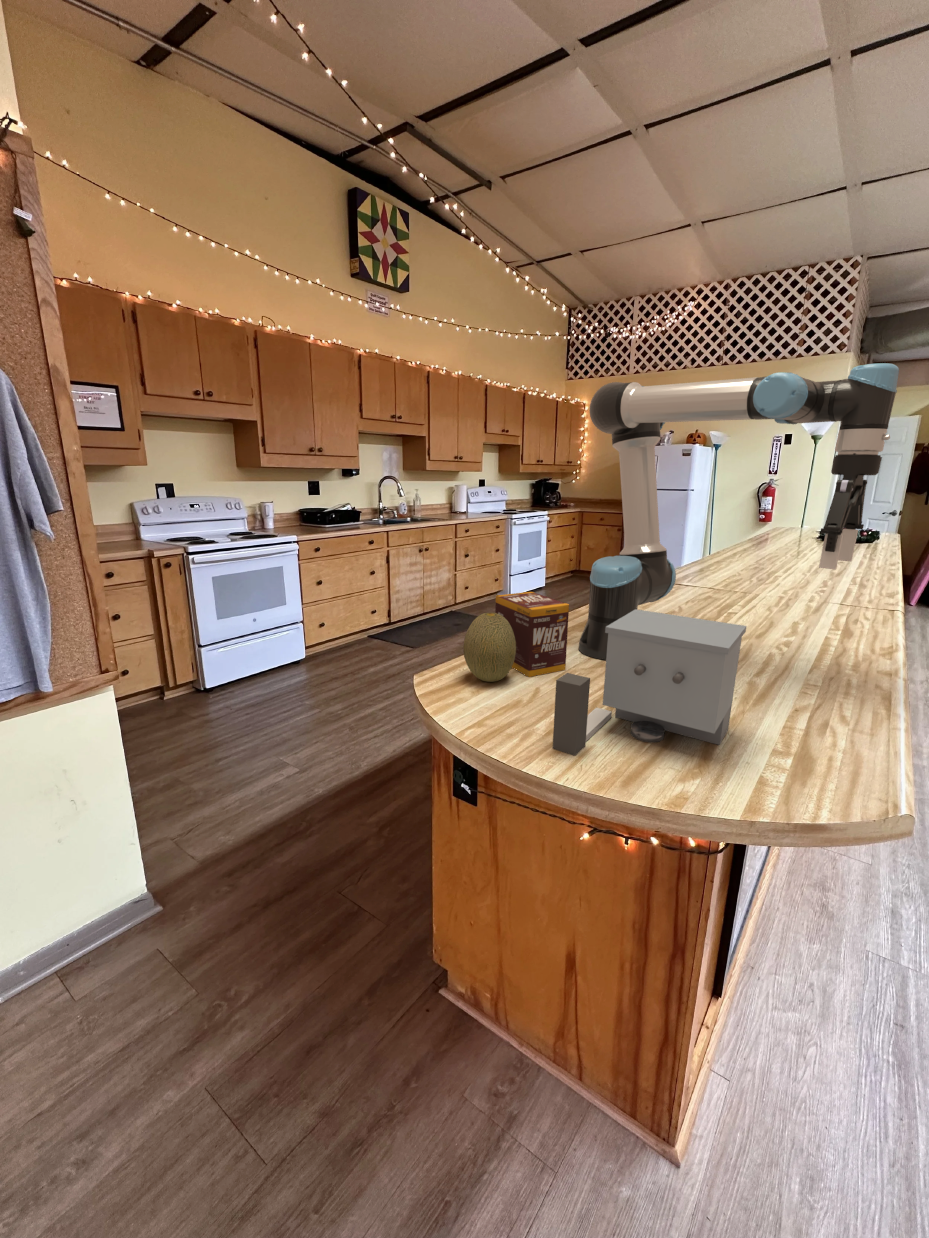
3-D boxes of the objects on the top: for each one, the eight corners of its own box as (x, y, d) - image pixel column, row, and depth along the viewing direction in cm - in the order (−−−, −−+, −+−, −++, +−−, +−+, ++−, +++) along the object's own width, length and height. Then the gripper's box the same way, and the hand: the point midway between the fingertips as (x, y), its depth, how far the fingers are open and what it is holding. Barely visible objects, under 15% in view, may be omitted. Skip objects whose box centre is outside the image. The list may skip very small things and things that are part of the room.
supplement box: (528, 678, 119) (531, 609, 115) (493, 657, 132) (494, 594, 128) (566, 670, 124) (570, 604, 120) (528, 651, 137) (531, 590, 133)
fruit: (452, 679, 118) (452, 612, 114) (486, 666, 126) (487, 603, 122) (492, 693, 111) (494, 623, 107) (526, 679, 119) (528, 612, 115)
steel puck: (625, 737, 93) (626, 729, 93) (636, 726, 98) (637, 718, 97) (658, 747, 90) (659, 738, 90) (667, 734, 95) (668, 726, 94)
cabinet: (594, 733, 94) (602, 628, 89) (626, 703, 107) (635, 609, 102) (710, 767, 83) (727, 650, 78) (731, 729, 96) (746, 625, 91)
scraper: (552, 748, 89) (556, 680, 86) (593, 712, 102) (598, 652, 99) (575, 755, 87) (579, 685, 84) (614, 718, 100) (619, 656, 97)
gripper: (869, 451, 92) (843, 575, 98) (893, 455, 109) (870, 559, 115) (818, 452, 97) (796, 569, 103) (849, 455, 114) (829, 555, 120)
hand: (835, 564), depth 109 cm, fingers open, 13 cm apart
